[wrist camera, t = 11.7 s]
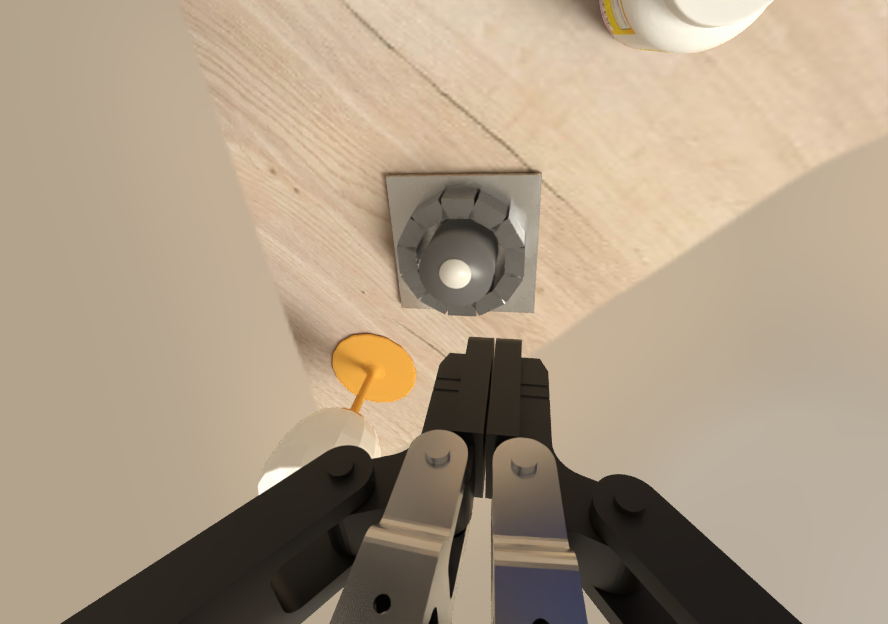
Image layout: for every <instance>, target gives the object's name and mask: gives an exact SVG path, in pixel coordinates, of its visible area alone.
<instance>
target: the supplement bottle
mask: <svg viewBox="0 0 888 624" xmlns="http://www.w3.org/2000/svg"><path fill="white" fill-rule="evenodd" d="M772 1H774V0H599V2H600V10H601V14H602V18H603V20H604V23H605V25H606V27H607V29H608V30H609V32H610V33H611V34H612V35H613V36H614V37H615V38H616V39H617V40H618V41H619V42H621V43H622V44H624V45H626V46H628V47H631V48H635V49H640V50H648V51H660V52H669V53H694V52H700V51H704V50H708V49H710V48H713V47H716V46H718V45H720V44H722V43H724V42H726V41H728V40H730V39H732V38H733V37H735V36H736V35H738V34H739V33H740V32H742V31H743V30H744V29H746V28H747V27H748V26H749V25H750V24H752V23H753V22H754V21H755V20H756V19H757V18H758V17H759V16H760V14H761V13H762V12H763V11H764V10H765V9H766V7H767V6H768V5H769V4H770V3H771V2H772Z"/></svg>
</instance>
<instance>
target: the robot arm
mask: <svg viewBox="0 0 888 624" xmlns="http://www.w3.org/2000/svg"><path fill="white" fill-rule="evenodd" d="M521 349H522V340H517V339H500V338H496V346H495V355H494V338H482V337H469V339H468V345H467V350H466V354H458V353H450V354H449V355H448V356H447V357H446V358H445V359H444V360H443V361H442V362H441V363H440V365H439V369H438V373H437V377H436V381H435V385H434V390H433V392H432V396H431V400H430V404H429V407H428V411H427V415H426V419H425V423H424V427H423V430H422V433H421V435H420V436H418V437H417V438H416V439H415V440H414V441H413V442H412V443H411V445H410V447H409V448H408V449H407V450H405V451H403V452H400V453H398V454H394V455H390V456H384V457H379V458H373V459H371V457H370V455H369V454H368V452H367V451H365V450H364V449H362V448H360V447H357V446H353V445H344V446H338V447H335V448H332V449H330V450H328V451H327V452H325V453H323V454H322V455H320V456H319V457H317V458H316V459H314V460H313V461H311V462H309V463H308V464H306V465H305V466H303V467H302V468H300V469H299V470H297V471H296V472H294V473H292V474H291V475H289V476H288V477H286V478H285V479H283V480H282V481H280V482H279V483H277V484H275V485H274V486H272V487H271V488H269V489H268V490H266V491H265V492H263V493H262V494H260V495H258V496H257V497H255V498H254V499H252V500H251V501H249V502H248V503H246V504H245V505H243V506H241V507H240V508H238V509H237V510H235V511H234V512H232V513H231V514H229V515H228V516H226V517H225V518H223V519H221V520H220V521H218V522H217V523H215V524H214V525H212V526H211V527H209V528H208V529H206V530H205V531H203V532H201V533H200V534H198V535H197V536H195V537H194V538H192V539H190V540H189V541H187V542H186V543H184V544H183V545H181V546H180V547H178V548H177V549H175V550H173V551H172V552H170V553H169V554H167V555H166V556H164V557H163V558H161V559H160V560H158V561H157V562H155V563H154V564H152V565H150V566H149V567H147V568H146V569H144V570H143V571H141V572H139V573H138V574H136V575H135V576H133V577H132V578H130V579H129V580H127V581H126V582H124V583H122V584H121V585H119V586H118V587H116V588H115V589H113V590H112V591H110V592H109V593H107V594H106V595H104V596H102V597H101V598H99V599H98V600H96V601H95V602H93V603H92V604H90V605H89V606H87V607H86V608H84V609H82V610H81V611H79V612H78V613H76V614H75V615H73V616H72V617H70V618H68V619H67V620H65V621H64V622H62V623H61V624H301V623H302V622H303V621H305V620H306V619H307V618H308V617H309V616H310V615H311V614H313V613H314V612H315V611H316V610H317V609H319V608H320V607H321V606H322V605H323V604H324V603H325V602H326V601H328V600H329V599H330V598H331V597H332V596H334V595H335V594H336V593H337V592H338V591H339V590H341V589H342V588H343V587H344V589H343V592H342V594H341V596H340V599H339V602H338V604H337V607H336V609H335V611H334V614H333V616H332V619H331V621H330V624H452V615H453V607H454V601H455V596H456V591H457V586H458V581H459V576H460V571H461V566H462V561H463V556H464V551H465V546H466V541H467V536H468V531H469V522H470V519H471V515H472V508H473V498H474V497H480V498H483V490H484V480H485V470H486V494H485V495H486V496H485V498H489V499H492V507H491V624H588V621H587V615H586V609H585V603H584V597H583V591H582V588H583V589H584V591H585V592H586V594H587V595H588V596H589V597H590V599H591V600H592V601H593V603H594V604H595V605H596V606H597V608H598V609H599V610H600V612H601V613H602V614H603V615H604V617H605V618H606V619H607V621H608V622H609V623H610V624H802V623H801V622H799V620H798V619H796V618H795V617H794V616H793V615H792V614H791V613H790V612H789V611H788V610H786V609H785V608H784V607H783V606H782V605H781V604H780V603H779V602H778V601H777V600H775V599H774V598H773V597H772V596H771V595H770V594H769V593H768V592H767V591H766V590H764V589H763V588H762V587H761V586H760V585H759V584H758V583H757V582H756V581H754V580H753V579H752V578H751V577H750V576H749V575H748V574H747V573H746V572H745V571H743V570H742V569H741V568H740V567H739V566H738V565H737V564H736V563H735V562H734V561H732V560H731V559H730V558H729V557H728V556H727V555H726V554H725V553H724V552H723V551H721V550H720V549H719V548H718V547H717V546H716V545H715V544H714V543H713V542H712V541H710V540H709V539H708V538H707V537H706V536H705V535H704V534H703V533H702V532H700V531H699V530H698V529H697V528H696V527H695V526H694V525H693V524H691V522H689V521H688V520H687V519H686V518H685V517H684V516H683V515H682V514H680V513H679V512H678V511H677V510H676V509H675V508H674V507H673V506H672V505H671V504H670V503H668V502H667V501H666V500H665V499H664V498H663V497H662V496H661V495H660V494H659V493H657V492H656V491H655V490H654V489H653V488H652V487H650V486H649V485H648V484H647V483H645V482H643V481H642V480H640V479H637V478H635V477H632V476H628V475H622V474H615V475H609V476H606V477H604V478H602V479H601V480H600V481H599V482H597V481H595V480H592V479H590V478H587V477H584V476H582V475H579V474H577V473H575V472H573V471H572V470H570V469H568V468H567V467H566V466H565V465H564V464H563V463H562V462H561V461H560V460H559V459H558V458H557V456H556V454H555V453H554V450H553V447H552V437H551V419H550V418H551V417H550V400H549V379H548V371H547V369H546V368H545V366H544V365H543V363H542V361H541V360H540V359H534V358H521Z"/></svg>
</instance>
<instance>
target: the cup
mask: <svg viewBox="0 0 888 624" xmlns="http://www.w3.org/2000/svg"><path fill="white" fill-rule="evenodd" d="M332 367H333V369H334V371H335V374H336V376H337V378H338V380H339V381H340V382H341V383H342V384H343V385H344V386H345V387H346V388H347V390H348V391H350V392H352V393H354V394H355V395H357V396H356V398H355V400H354V402H353V405H352V407H351V409H347V408H338V407H337V408H324V409H322V410H320V411H318V412H316V413H314V414H312V415H310V416H308V417H307V418H305V419H303V420H301V421H300V422H299V423H298V424H297V425H296V426H294V427H293V428H292V429H291V430H290V431H289V432H288V433H287V434H286V435H285V436H284V438H283V439H282V440H281V442H280V443H279V445H278V446H277V447H276V448H275V450H274V451H273V453H272V454H271V456H270V457H269V459H268V460H267V462H266V464H265V466H264V469H263V471H262V473H261V476H260V478H259V481H258V483H257V485H258V495H260V494H262V493H263V492H265V491H266V490H268V489H269V488H271V487H272V486H274V485H275V484H277V483H279V482H280V481H282V480H283V479H285V478H286V477H288V476H289V475H291V474H292V473H294V472H296V471H297V470H299V469H300V468H302V467H303V466H305V465H306V464H308V463H309V462H311V461H313V460H314V459H316V458H317V457H319V456H320V455H322V454H323V453H325V452H327V451H328V450H330V449H332V448H335V447H338V446H344V445H353V446H357V447H360V448H362V449H364V450H365V451H367V452H368V454H369V455H370V457H371V459H373V458H379V457H381V450H380V445H379V440H378V437H377V434H376V432H375V429H374V427H373V426H372V425H371V424H370V423H369V422H368V421H367V420H366V419H365V418H364V417H363V416H362V415H361V414H359V413H358V412H359V410H360V408H361V406H362V404H363V402H364V399H366V400H370V401H374V402H394V401H396V400H398V399H400V398H403V397H405V396H406V395H407V394H408V393H409V392H410V390H411V389H412V388H413V387H414V383H415V378H416V371H415V367H414V364H413V361H412V359H411V358H410V357H409V355H408V354H407V353H406V352H405V351H404V349H403V348H402V347H401V346H399V345H397V344H396V343H394V342H392V341H391V340H389V339H388V338H385V337H381V336H377V335H373V334H360V335H352V336H350V337H349V338H347V339H345V340H343V341H341V342H340V343H339V345H338V346H337V348H336V350H335V351H334V353H333V364H332Z"/></svg>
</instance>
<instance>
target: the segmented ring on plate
mask: <svg viewBox="0 0 888 624" xmlns="http://www.w3.org/2000/svg"><path fill="white" fill-rule="evenodd" d="M386 183H387V192H388V200H389V208H390V216H391V224H392V232H393V241H394V249H395V257H396V265H397V273H398V281H399V290H400V298H401V306H402V308H417V309H436V310H438V311H440V312H442V313H443V314H445V313H446V312H447V310H448V315H457V316H476V315H477V313H478V314H479V316H480V315H482V314H484V313H486V312H489V311H493V312H518V313H534V302H535V285H536V268H537V251H538V234H539V217H540V200H541V183H542V173H490V174H415V175H387V176H386ZM450 219H472V220H474V221H475V222H477V223H479V224H481V225H483V226H485V227H486V228H488V229H490V230H491V231H492V232H493V234H494V235H495V237H496V240H497V243H498V257H497V262H496V266H495V271H494V275H493V280H492V284H491V286H490V289H489V290H488V292H487V293H486V294H485V295H484V297H482V298H481V299H480V300H478V301H477V302H474V303H472V304H469V305H464V306H454V305H449V304H445V303H443V302H441V301H439V300H437V299H435V298H434V297H433V296H432V295H430V294H429V293H428V291H427V290H426V289H425V287H424V286H423V284H422V282H421V279H420V275H419V264H420V260H421V257H422V255H423V253H424V252H425V250H426V248H427V246H428V244H429V243H430V241H431V239H432V237H433V235H434V234H435V232H436V230H437V229H438V228H439V227H440V226H441V225H442V224H443V223H444V222H446V221H448V220H450Z"/></svg>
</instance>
